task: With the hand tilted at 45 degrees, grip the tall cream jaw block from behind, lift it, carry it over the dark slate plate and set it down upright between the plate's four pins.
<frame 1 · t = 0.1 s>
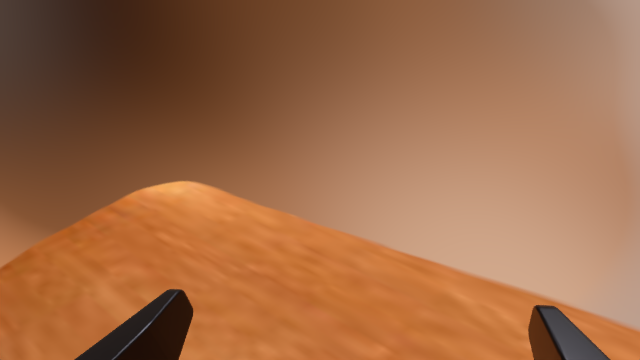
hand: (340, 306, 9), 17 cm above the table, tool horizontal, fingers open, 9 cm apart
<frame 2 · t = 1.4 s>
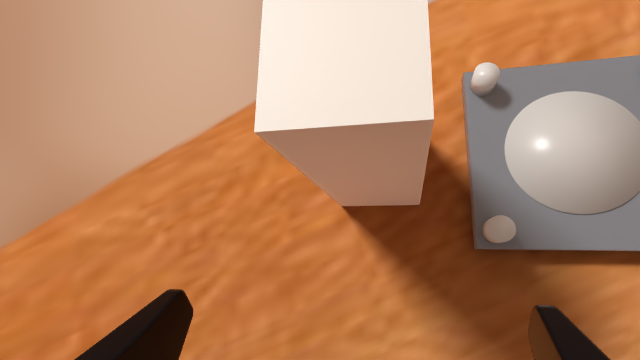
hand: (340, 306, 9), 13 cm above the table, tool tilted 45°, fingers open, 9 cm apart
jaw block: (378, 168, 24), on the table
locating plate: (567, 155, 21), on the table
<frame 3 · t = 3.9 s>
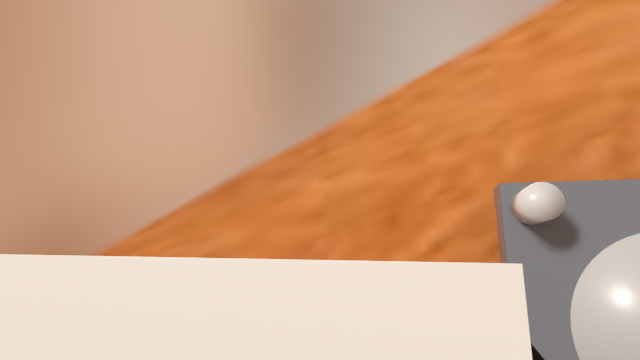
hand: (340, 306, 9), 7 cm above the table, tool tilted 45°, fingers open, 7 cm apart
jaw block: (369, 321, 16), on the table, touching gripper
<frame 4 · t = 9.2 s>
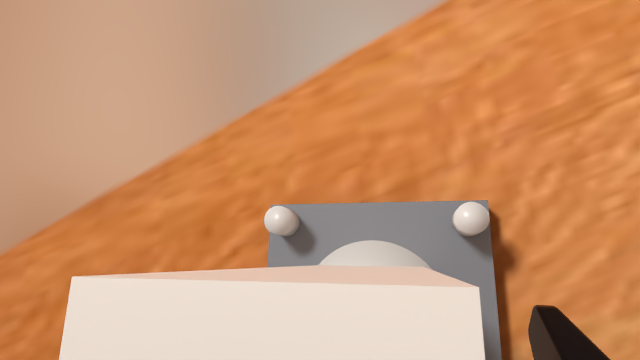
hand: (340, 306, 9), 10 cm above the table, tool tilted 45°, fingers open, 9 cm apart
jaw block: (370, 320, 17), point 1 cm above the table, touching locating plate
locating plate: (375, 313, 18), on the table
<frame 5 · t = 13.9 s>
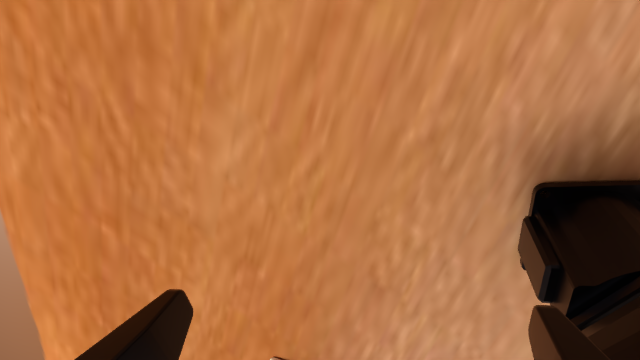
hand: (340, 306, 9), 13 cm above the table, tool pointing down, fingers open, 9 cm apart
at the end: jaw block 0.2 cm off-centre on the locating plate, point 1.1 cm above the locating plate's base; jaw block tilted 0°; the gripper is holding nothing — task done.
